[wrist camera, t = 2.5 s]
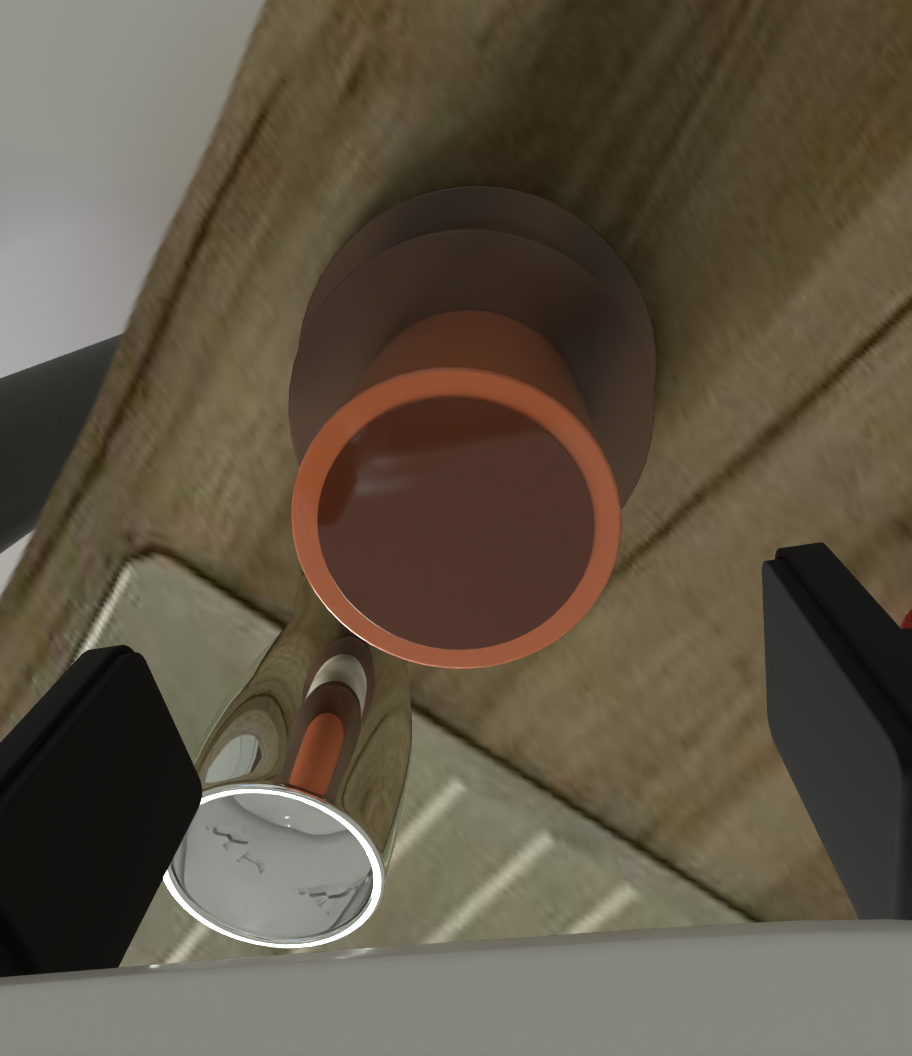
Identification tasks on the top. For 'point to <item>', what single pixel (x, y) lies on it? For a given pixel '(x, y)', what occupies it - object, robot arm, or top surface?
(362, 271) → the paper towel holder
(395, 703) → the beer glass
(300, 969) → the robot arm
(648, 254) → the top surface
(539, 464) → the terracotta cup
